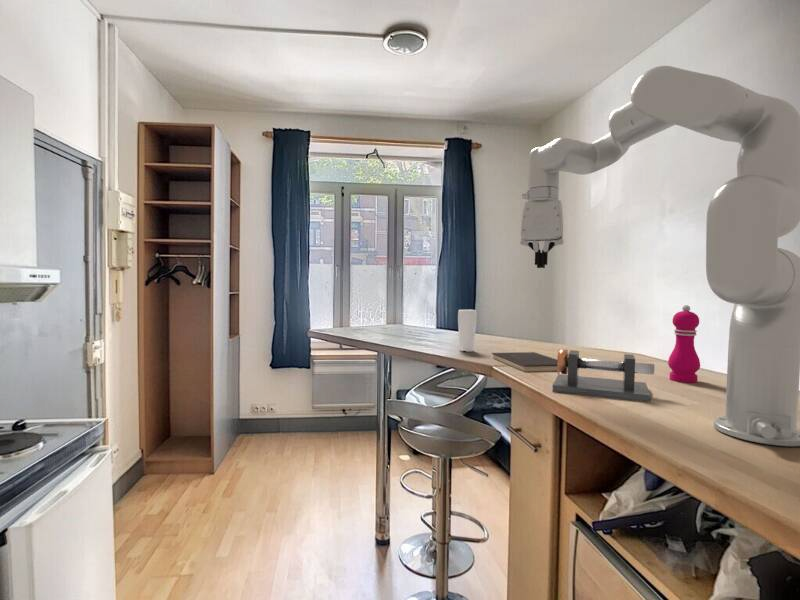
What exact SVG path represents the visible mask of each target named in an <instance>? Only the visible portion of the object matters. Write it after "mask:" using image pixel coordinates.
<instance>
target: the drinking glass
mask: <svg viewBox="0 0 800 600" xmlns="http://www.w3.org/2000/svg"><path fill="white" fill-rule="evenodd" d="M477 311H478V310H477V309H458V312H457V330H458V343H459V344H458V345H459V347H458V349H459V351H460V352H463V351H466V353H471V352H474V351H475V340H476V331H477V321H478V319H477V318H478V315H477V314H478V313H477Z"/></svg>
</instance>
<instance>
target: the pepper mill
mask: <svg viewBox="0 0 800 600" xmlns="http://www.w3.org/2000/svg"><path fill="white" fill-rule="evenodd" d="M690 310H691V307H690V306H689V304H688V305H687V304H685V305H683V306H682V311H678V312H675V314H674V315H673V316H672V324H673V326H674V327H675V329H674V332H673V334H674V335H675V344H674V348H673V350H672V352H670V353H671V354H670V355H669V357H668V361H667V365H668V367H669V368H670V369H671V371H670V372H669V379H670V380H671V381H674V382H679V383H685V384H686V383H687V384H688V383H689V384H694V383H698V378H699V377H698V374H697V372H698V371H699V370H700V368H701V361H700V357H699V355H698V353H697V351H696V349H695V337H696V336H697V331H698V330H696V328H697V327H699V325H700V317H699V315H698V314H697V313H695V312H693V311H690Z"/></svg>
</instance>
